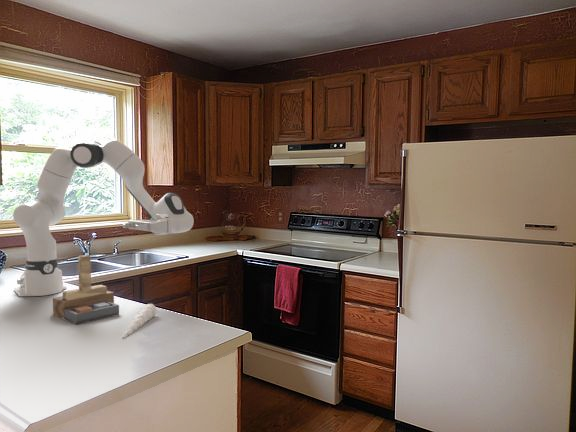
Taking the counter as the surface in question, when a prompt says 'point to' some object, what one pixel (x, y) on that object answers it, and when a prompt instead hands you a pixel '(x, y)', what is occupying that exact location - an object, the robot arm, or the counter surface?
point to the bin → (91, 313)
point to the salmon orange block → (82, 309)
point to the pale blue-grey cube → (101, 305)
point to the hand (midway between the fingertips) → (129, 226)
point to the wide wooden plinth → (78, 302)
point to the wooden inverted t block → (84, 282)
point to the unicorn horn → (141, 318)
